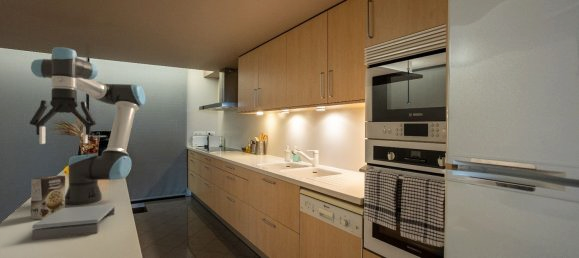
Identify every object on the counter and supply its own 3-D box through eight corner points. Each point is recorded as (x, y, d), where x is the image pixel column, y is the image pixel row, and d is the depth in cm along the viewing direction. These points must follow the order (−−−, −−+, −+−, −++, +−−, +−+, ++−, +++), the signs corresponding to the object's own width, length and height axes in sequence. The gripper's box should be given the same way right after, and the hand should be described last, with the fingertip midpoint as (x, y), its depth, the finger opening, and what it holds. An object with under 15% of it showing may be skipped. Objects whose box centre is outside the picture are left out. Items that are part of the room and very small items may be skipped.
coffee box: (42, 219, 108) (43, 179, 108) (29, 218, 110) (30, 178, 110) (65, 212, 117) (66, 175, 117) (53, 211, 119) (53, 174, 119)
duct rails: (63, 218, 111) (63, 210, 111) (114, 213, 117) (114, 206, 117) (32, 239, 89) (32, 230, 89) (97, 233, 95) (97, 224, 95)
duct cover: (62, 211, 110) (62, 208, 110) (114, 207, 116) (114, 204, 116) (32, 228, 89) (32, 225, 89) (97, 222, 95) (97, 219, 95)
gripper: (17, 85, 98) (17, 144, 98) (99, 89, 107) (99, 143, 107) (29, 88, 105) (28, 143, 105) (104, 91, 114) (104, 142, 114)
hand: (64, 143), depth 106 cm, fingers open, 13 cm apart
